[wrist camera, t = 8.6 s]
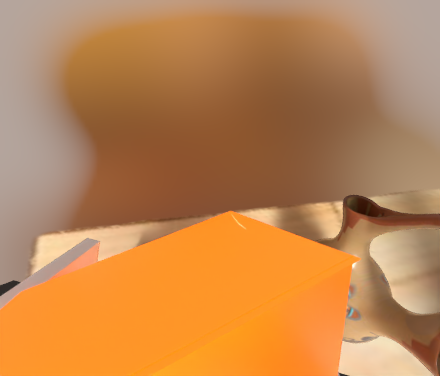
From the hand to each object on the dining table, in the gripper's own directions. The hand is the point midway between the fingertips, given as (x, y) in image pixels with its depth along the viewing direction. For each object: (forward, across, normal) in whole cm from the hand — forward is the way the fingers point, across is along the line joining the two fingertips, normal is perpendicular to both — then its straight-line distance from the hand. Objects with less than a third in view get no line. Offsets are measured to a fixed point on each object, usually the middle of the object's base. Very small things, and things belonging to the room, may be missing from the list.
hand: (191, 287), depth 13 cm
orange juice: (+5, 0, -9) cm, 10 cm away
